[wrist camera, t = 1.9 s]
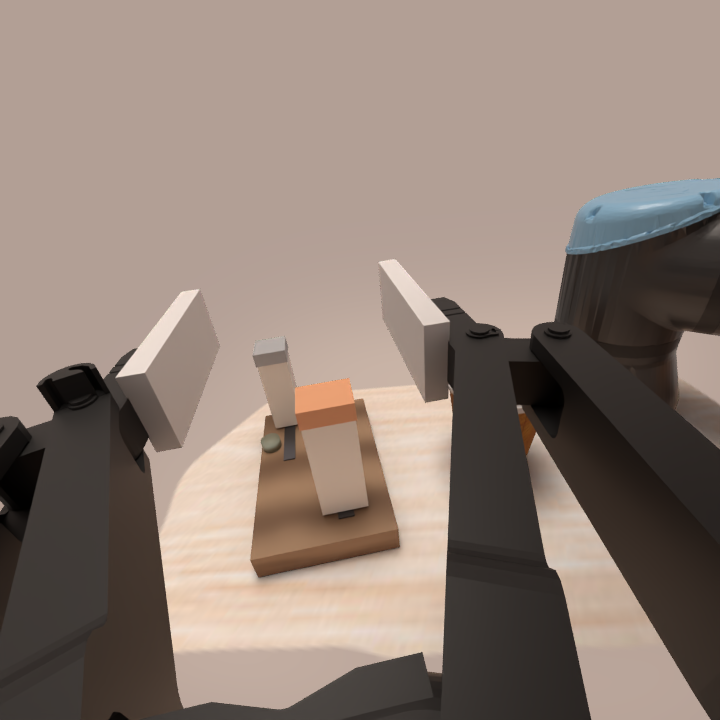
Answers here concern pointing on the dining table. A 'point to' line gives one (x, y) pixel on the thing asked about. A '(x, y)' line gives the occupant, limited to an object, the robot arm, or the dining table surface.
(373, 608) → the dining table surface
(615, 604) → the dining table surface
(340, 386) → the orange topped beige block
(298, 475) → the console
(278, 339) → the grey topped white block
